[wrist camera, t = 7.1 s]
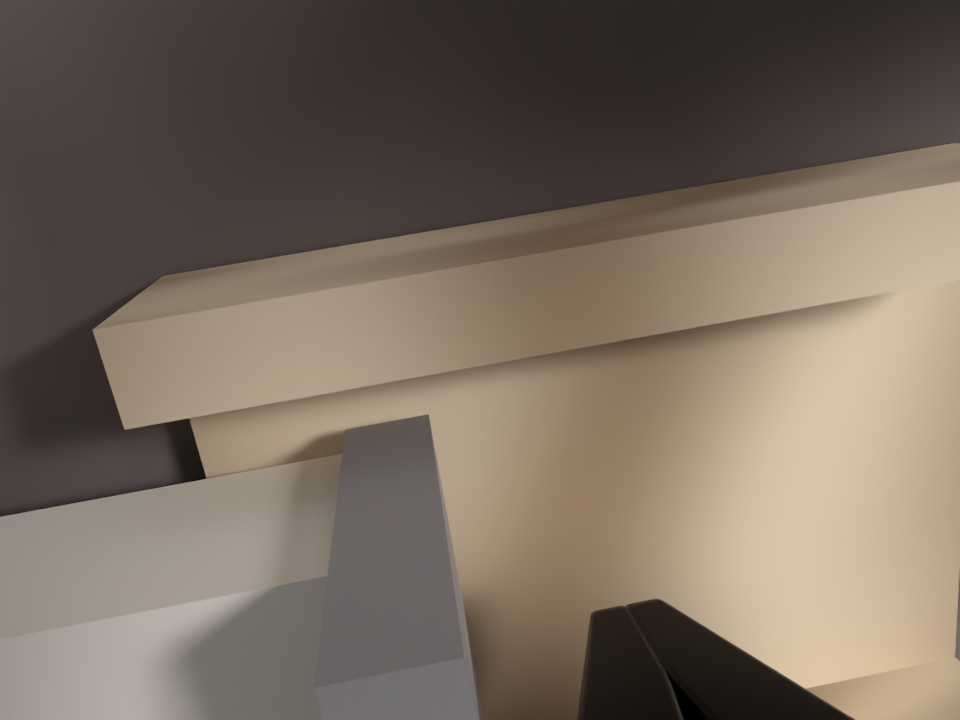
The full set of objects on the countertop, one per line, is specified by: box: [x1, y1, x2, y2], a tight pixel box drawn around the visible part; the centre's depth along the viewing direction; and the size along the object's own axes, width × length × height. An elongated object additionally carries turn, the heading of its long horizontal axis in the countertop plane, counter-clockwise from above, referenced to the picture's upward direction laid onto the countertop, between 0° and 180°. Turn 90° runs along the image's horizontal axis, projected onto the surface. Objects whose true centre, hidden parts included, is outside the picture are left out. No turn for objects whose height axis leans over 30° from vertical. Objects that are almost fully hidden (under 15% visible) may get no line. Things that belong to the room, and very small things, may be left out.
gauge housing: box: [93, 143, 960, 720], centre depth 10 cm, size 10×9×2 cm
